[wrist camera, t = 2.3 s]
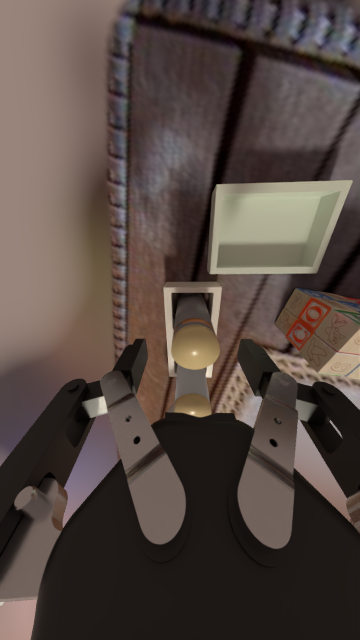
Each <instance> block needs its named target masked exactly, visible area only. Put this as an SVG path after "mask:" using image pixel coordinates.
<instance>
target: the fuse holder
mask: <svg viewBox="0 0 360 640" xmlns="http://www.w3.org/2000/svg"><path fill="white" fill-rule="evenodd" d="M221 291H222V287H221V286H220V284H219V283H218V282H166V284H165V286H164V303H165V318H166V334H167V349H168V365H169V376H170V377H177V366H178V364H177V363H176V362H175V360H174V359H173V357H172V354H171V346H172V339H173V332H174V325H175V320H174V300H173V293H210V295H209V308H208V313H209V316H210V319H211V322H212V325H213V328H214V331H215V334H217V325H218V316H219V308H220V299H221ZM212 368H213V364H212V365H210V366H208V367H206V368H205V374H206V377H212Z"/></svg>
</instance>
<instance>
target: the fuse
mask: <svg viewBox="0 0 360 640" xmlns="http://www.w3.org/2000/svg"><path fill="white" fill-rule="evenodd" d="M174 412H180V413H186V414H189V415H193V416H196V417H204V416H208V415H211V408H210V401H209V394H208V388H207V381H206V374H205V368H203V369H197V370H193V369H187V368H184V367H182V366H180V365H179V364H178V366H177V381H176V395H175V409H174Z"/></svg>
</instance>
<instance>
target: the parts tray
mask: <svg viewBox="0 0 360 640" xmlns="http://www.w3.org/2000/svg"><path fill="white" fill-rule="evenodd" d="M352 182H353V180H344V181H311V182H279V183H246V184H217V185H216V187H215V189H214V191H213V193H212V201H211V216H210V232H209V247H208V262H207V271H208V272H209V274H296V273H317V271H318V269H319V266H320V264H321V261H322V258H323V256H324V253H325V251H326V248H327V246H328V243H329V241H330V238H331V235H332V233H333V230H334V228H335V225H336V223H337V220H338V217H339V215H340V212H341V210H342V207H343V205H344V202H345V200H346V197H347V194H348V192H349V189H350V187H351V184H352Z"/></svg>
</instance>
